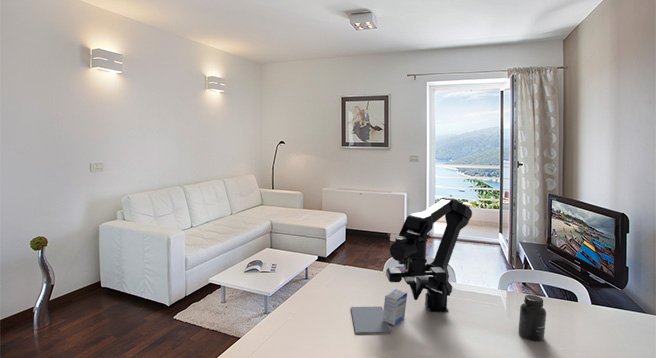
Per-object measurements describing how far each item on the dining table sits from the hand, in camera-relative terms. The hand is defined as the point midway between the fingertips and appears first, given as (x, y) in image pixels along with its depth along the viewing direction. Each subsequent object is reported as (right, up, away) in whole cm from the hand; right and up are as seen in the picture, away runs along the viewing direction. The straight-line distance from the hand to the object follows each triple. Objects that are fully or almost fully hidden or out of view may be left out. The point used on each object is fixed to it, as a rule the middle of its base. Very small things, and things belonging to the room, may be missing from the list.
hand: (415, 299), depth 114 cm
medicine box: (-7, -7, +1) cm, 10 cm away
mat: (-15, -7, 0) cm, 17 cm away
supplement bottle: (+33, -8, -8) cm, 35 cm away
